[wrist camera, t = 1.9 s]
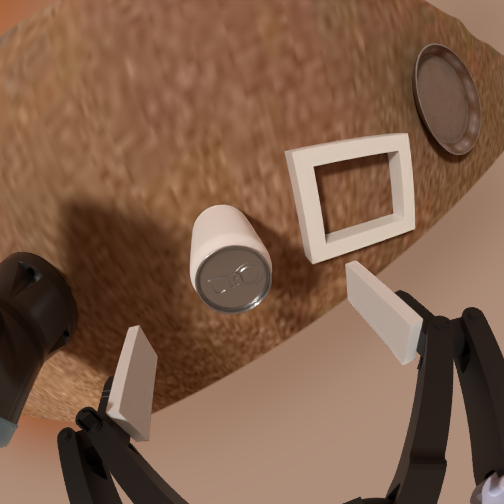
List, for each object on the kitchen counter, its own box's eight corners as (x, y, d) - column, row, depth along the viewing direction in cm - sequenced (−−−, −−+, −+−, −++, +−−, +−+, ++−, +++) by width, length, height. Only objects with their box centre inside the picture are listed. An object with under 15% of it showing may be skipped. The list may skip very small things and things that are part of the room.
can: (257, 246, 32) (287, 300, 21) (205, 266, 32) (210, 329, 21) (238, 194, 29) (262, 225, 18) (183, 216, 29) (173, 260, 18)
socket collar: (305, 256, 34) (312, 264, 31) (284, 151, 28) (291, 151, 26) (404, 223, 35) (414, 228, 32) (395, 133, 29) (407, 133, 27)
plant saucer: (473, 83, 28) (485, 83, 25) (461, 168, 34) (474, 172, 31) (407, 26, 24) (419, 22, 21) (392, 123, 29) (407, 122, 26)
